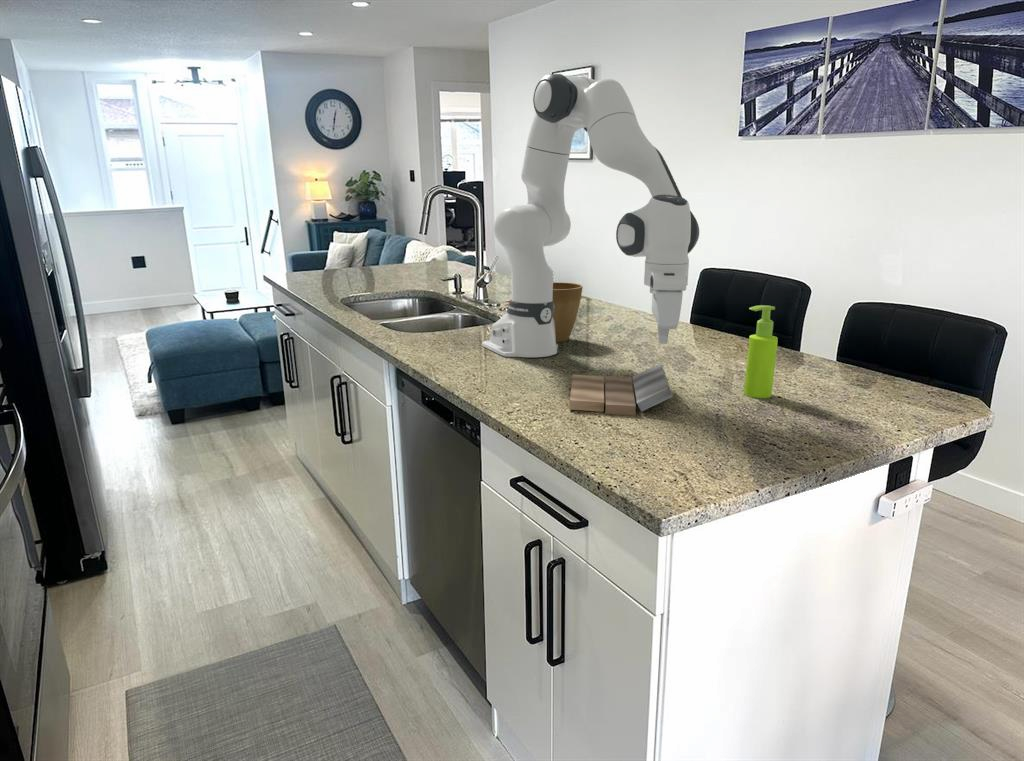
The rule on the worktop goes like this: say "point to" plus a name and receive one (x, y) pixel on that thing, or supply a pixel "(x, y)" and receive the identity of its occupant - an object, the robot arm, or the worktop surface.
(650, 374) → the grey plank
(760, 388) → the soap dispenser
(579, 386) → the smoked oak plank
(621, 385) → the walnut strip
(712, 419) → the worktop surface
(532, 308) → the robot arm
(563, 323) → the plant pot
